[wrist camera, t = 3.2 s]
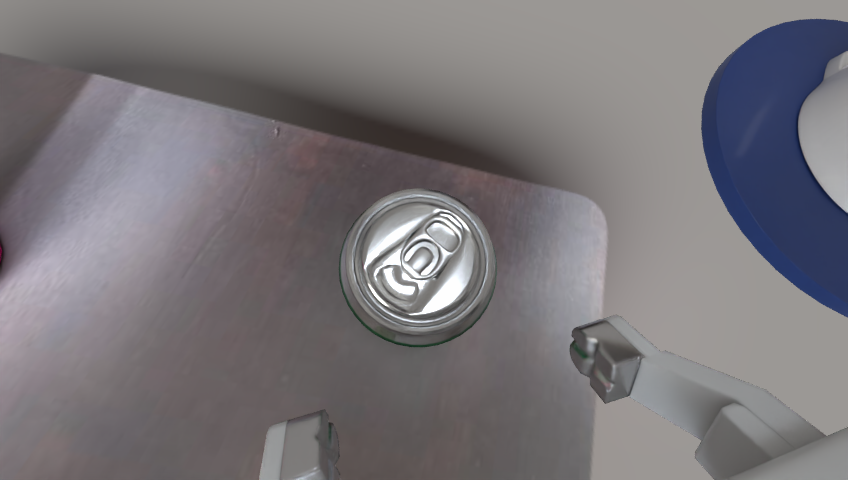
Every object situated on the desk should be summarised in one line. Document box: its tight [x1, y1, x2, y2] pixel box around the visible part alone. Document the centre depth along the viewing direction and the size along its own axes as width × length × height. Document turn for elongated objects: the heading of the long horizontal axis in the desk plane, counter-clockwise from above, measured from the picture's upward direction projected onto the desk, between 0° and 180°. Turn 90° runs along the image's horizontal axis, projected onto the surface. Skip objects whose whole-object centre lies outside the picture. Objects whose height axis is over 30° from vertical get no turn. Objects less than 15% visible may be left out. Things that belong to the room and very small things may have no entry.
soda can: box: [339, 189, 497, 347], centre depth 15 cm, size 5×5×12 cm
